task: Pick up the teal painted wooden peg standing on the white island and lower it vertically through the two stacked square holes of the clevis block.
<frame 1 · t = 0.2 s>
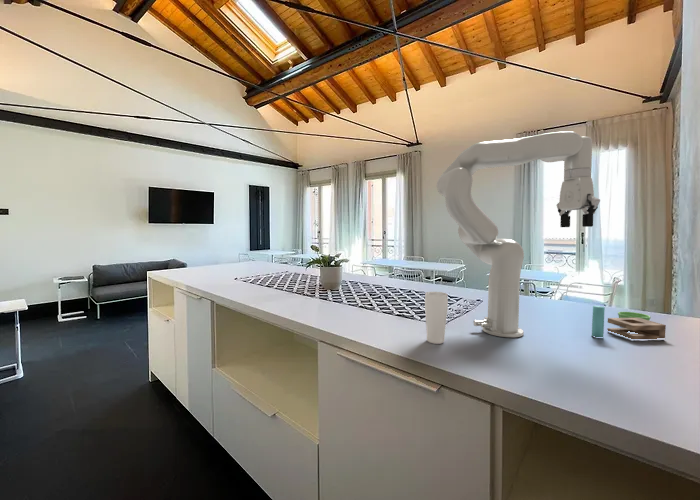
hand: (575, 226, 109), 36 cm above the worktop, tool pointing down, fingers open, 9 cm apart
clevis block: (632, 336, 105), on the worktop
ramekin: (633, 326, 118), on the worktop
peg: (597, 337, 105), on the worktop
drinking glass: (435, 342, 100), on the worktop
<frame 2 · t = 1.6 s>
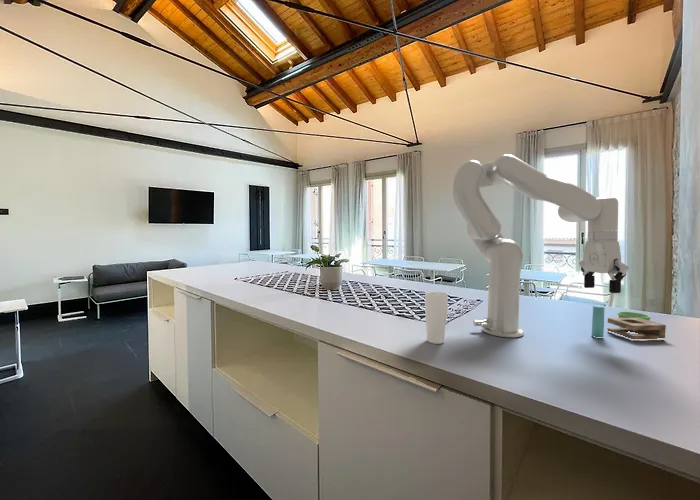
hand: (601, 290, 104), 15 cm above the worktop, tool pointing down, fingers open, 9 cm apart
nothing on the worktop moved.
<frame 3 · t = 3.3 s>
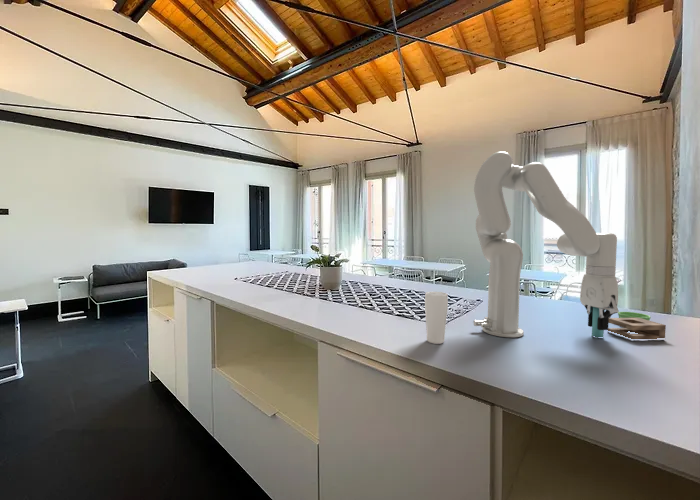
hand: (597, 327, 104), 3 cm above the worktop, tool pointing down, fingers closed on peg, 3 cm apart
peg: (597, 337, 105), on the worktop, touching gripper
everything else where it was.
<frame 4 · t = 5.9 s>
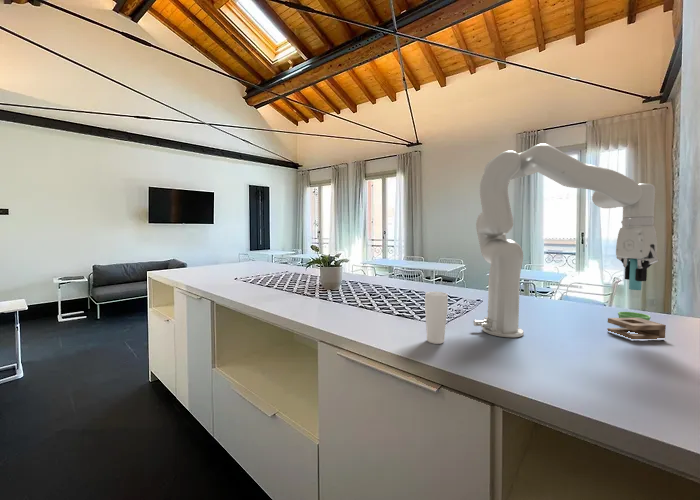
hand: (635, 279, 104), 19 cm above the worktop, tool pointing down, fingers closed on peg, 3 cm apart
peg: (635, 289, 105), point 16 cm above the worktop, touching gripper
everything else where it was.
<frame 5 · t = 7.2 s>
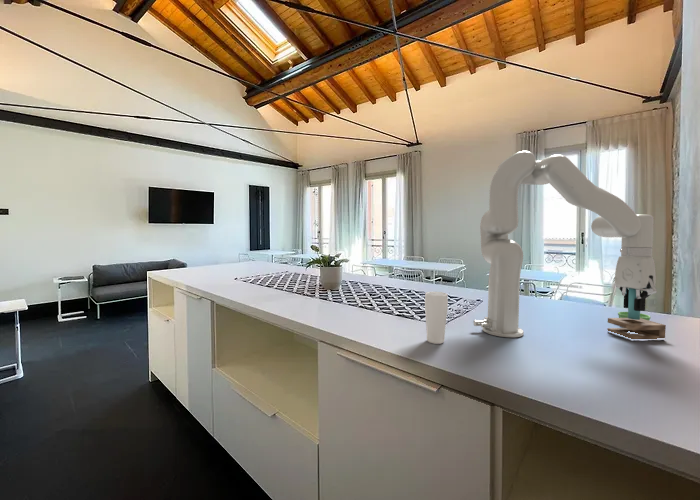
hand: (634, 308, 105), 9 cm above the worktop, tool pointing down, fingers closed on peg, 3 cm apart
peg: (633, 318, 105), point 6 cm above the worktop, touching gripper
everything else where it was.
when the fingers open (6 cm above the worktop, at t = 8.4 s): peg drops 3 cm, resting in clevis block.
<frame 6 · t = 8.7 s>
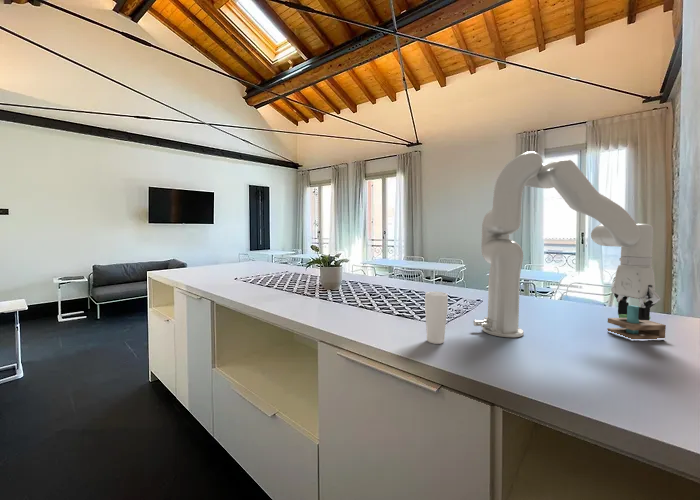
hand: (633, 316, 105), 7 cm above the worktop, tool pointing down, fingers open, 6 cm apart
peg: (632, 336, 105), resting in clevis block
everything else where it was.
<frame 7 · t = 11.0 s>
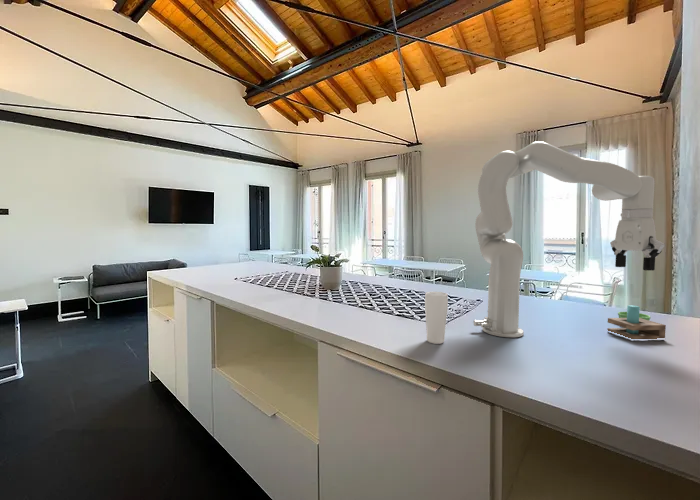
hand: (633, 268, 104), 22 cm above the worktop, tool pointing down, fingers open, 9 cm apart
nothing on the worktop moved.
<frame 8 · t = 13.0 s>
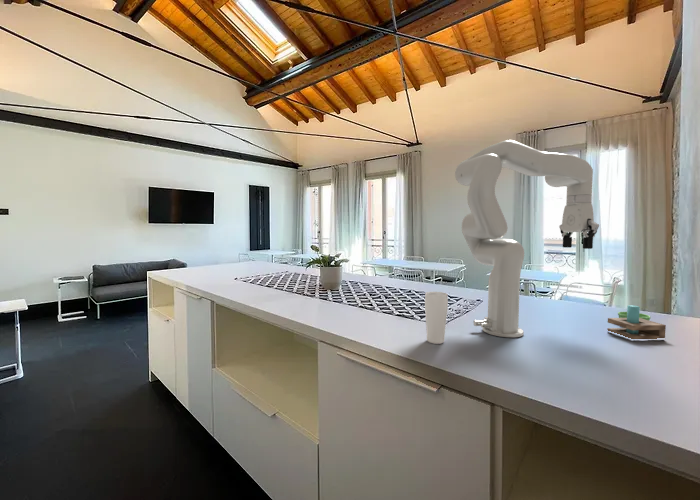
hand: (576, 248, 118), 28 cm above the worktop, tool pointing down, fingers open, 9 cm apart
nothing on the worktop moved.
at the end: peg 0.0 cm off-centre on the clevis block, point 0.0 cm above the clevis block's base; peg tilted 0°; the gripper is holding nothing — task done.
